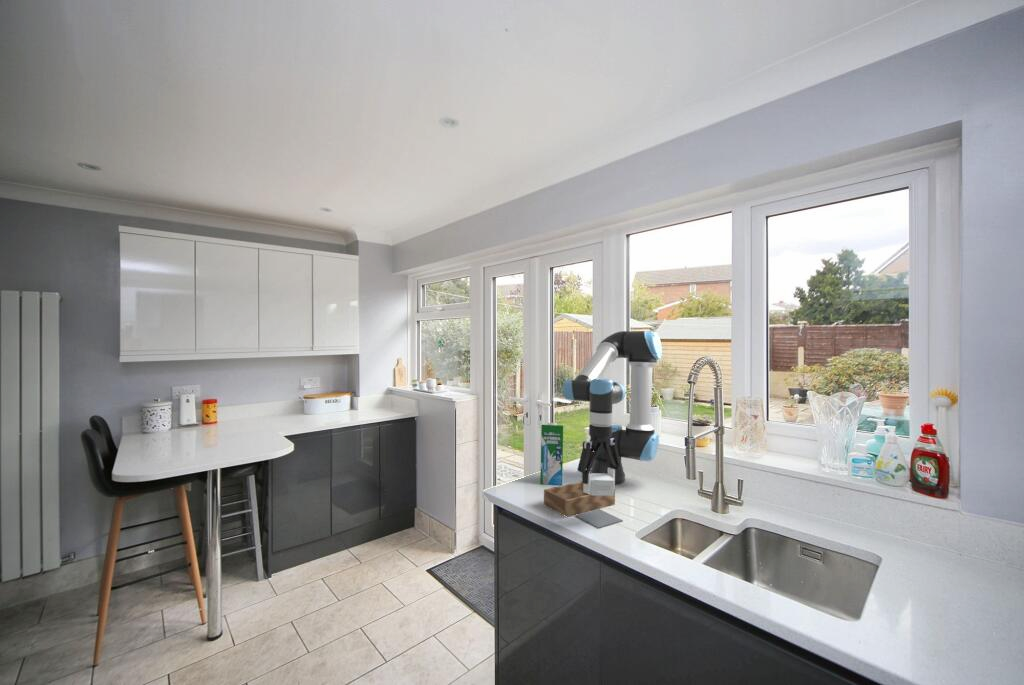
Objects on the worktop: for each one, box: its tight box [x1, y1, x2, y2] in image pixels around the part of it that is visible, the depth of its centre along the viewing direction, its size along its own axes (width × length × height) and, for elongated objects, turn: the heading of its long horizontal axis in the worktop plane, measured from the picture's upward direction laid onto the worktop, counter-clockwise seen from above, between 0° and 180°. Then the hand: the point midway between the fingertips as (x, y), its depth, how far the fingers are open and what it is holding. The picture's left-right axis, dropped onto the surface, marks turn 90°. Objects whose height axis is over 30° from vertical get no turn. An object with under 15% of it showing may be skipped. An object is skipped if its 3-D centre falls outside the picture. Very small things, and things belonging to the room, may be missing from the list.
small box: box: [589, 472, 614, 496], centre depth 144 cm, size 8×8×5 cm
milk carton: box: [539, 422, 564, 486], centre depth 182 cm, size 9×9×25 cm
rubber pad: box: [575, 508, 623, 529], centre depth 144 cm, size 11×11×1 cm
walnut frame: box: [543, 480, 616, 518], centre depth 157 cm, size 23×13×6 cm, turn 123°
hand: (599, 490), depth 144 cm, fingers closed on small box, 10 cm apart
